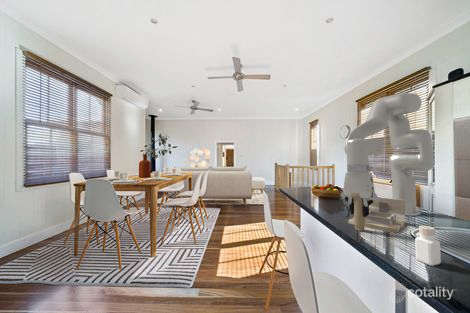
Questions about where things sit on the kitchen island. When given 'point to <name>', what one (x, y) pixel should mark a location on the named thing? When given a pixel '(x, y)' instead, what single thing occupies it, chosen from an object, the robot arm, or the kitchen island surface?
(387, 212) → the hinge stand
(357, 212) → the handle
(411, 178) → the robot arm
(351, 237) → the kitchen island surface
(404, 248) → the kitchen island surface
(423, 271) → the kitchen island surface
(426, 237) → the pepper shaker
